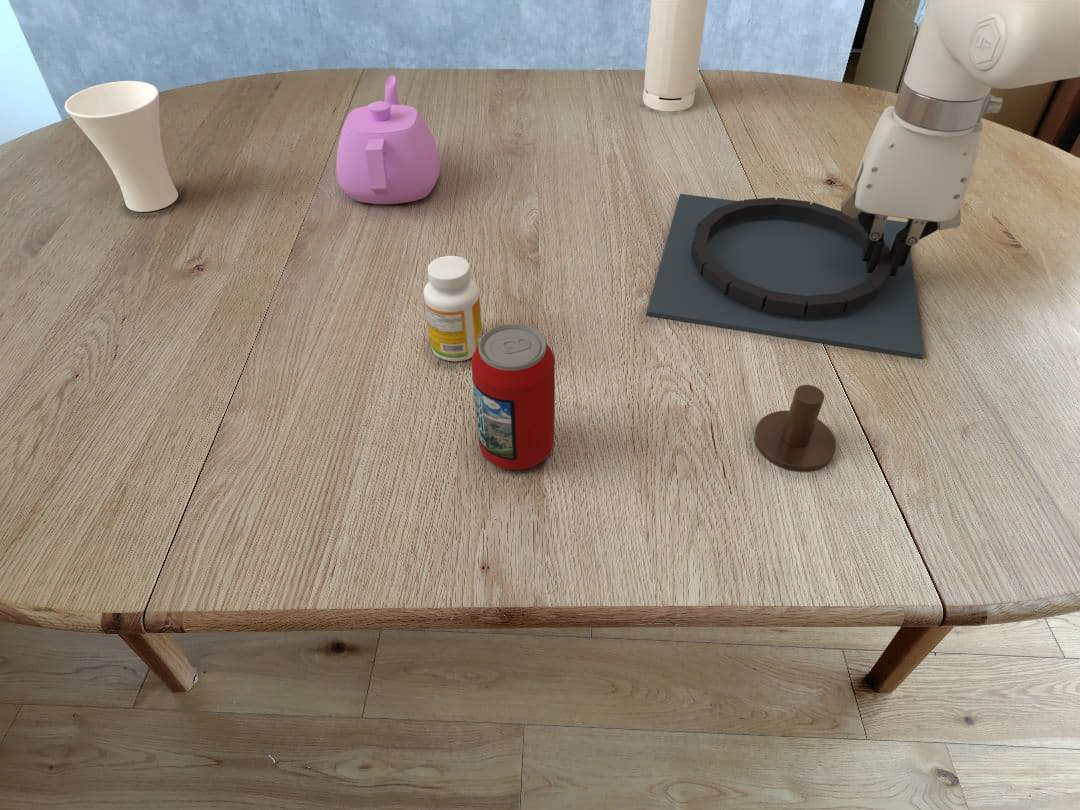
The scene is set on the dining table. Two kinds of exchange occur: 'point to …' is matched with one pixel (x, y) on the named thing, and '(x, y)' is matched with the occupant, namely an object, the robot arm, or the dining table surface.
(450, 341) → the supplement bottle
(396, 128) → the teapot
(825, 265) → the mat
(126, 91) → the cup
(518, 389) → the beverage can
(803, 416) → the brown peg stand
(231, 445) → the dining table surface
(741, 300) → the ring
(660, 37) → the bottle
